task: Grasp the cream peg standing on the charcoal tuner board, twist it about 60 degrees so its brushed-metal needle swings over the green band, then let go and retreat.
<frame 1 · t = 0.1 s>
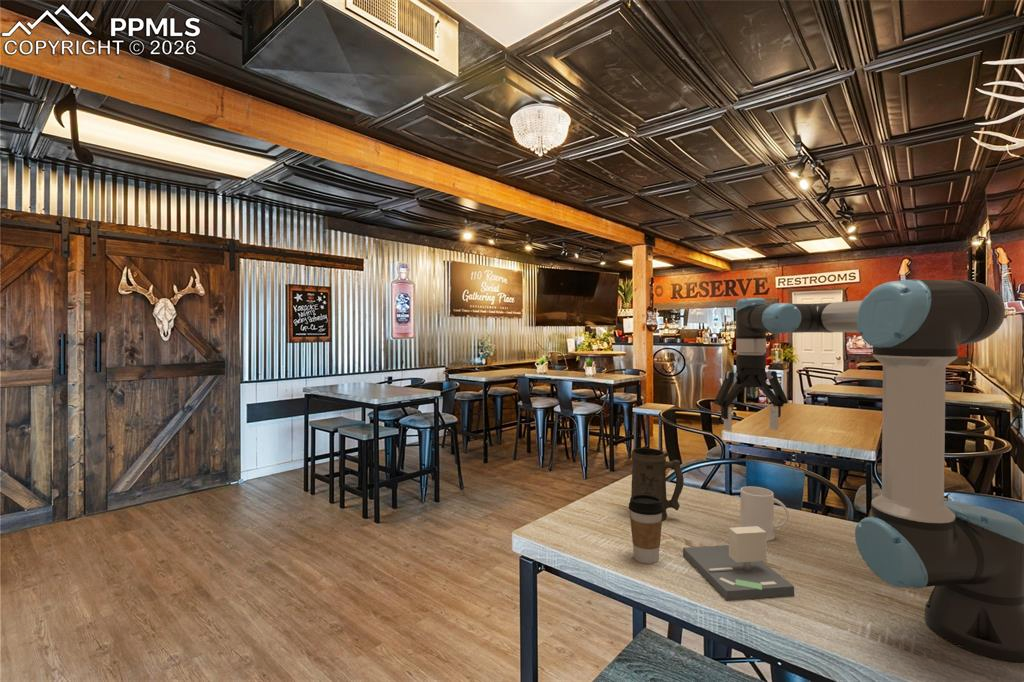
hand: (750, 429, 135), 28 cm above the table, fingers open, 13 cm apart
mug: (763, 536, 131), on the table
coffee cup: (646, 558, 119), on the table
beer stein: (656, 517, 145), on the table
tuner board: (734, 574, 111), on the table
peg: (735, 550, 109), point 6 cm above the table, hinge at 0.0°
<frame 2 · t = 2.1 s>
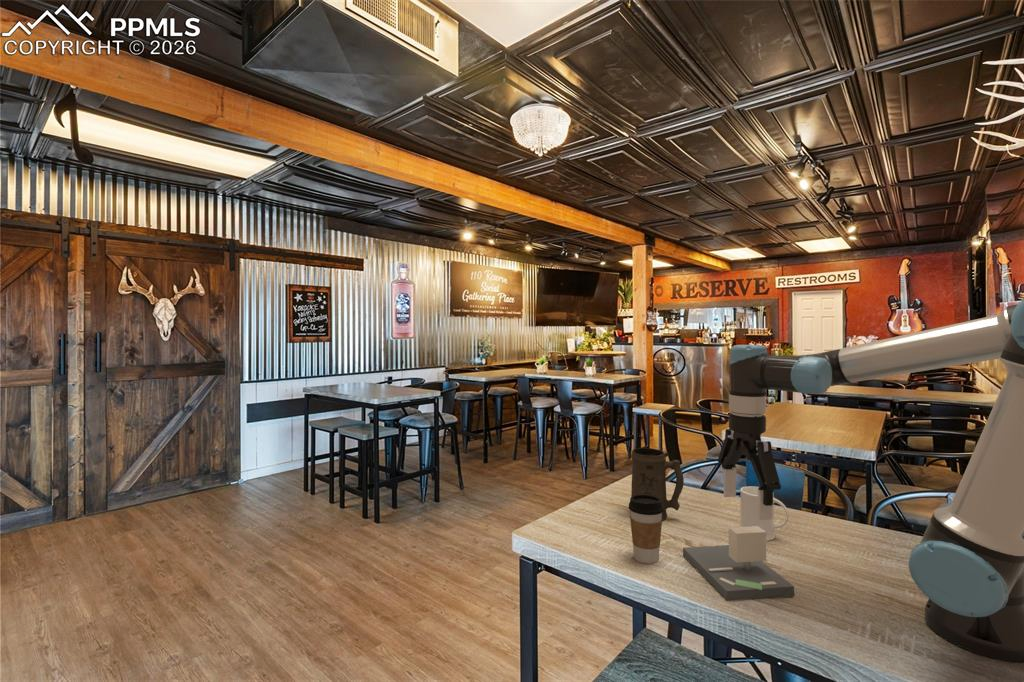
hand: (746, 507, 109), 16 cm above the table, fingers open, 13 cm apart
nothing on the table moved.
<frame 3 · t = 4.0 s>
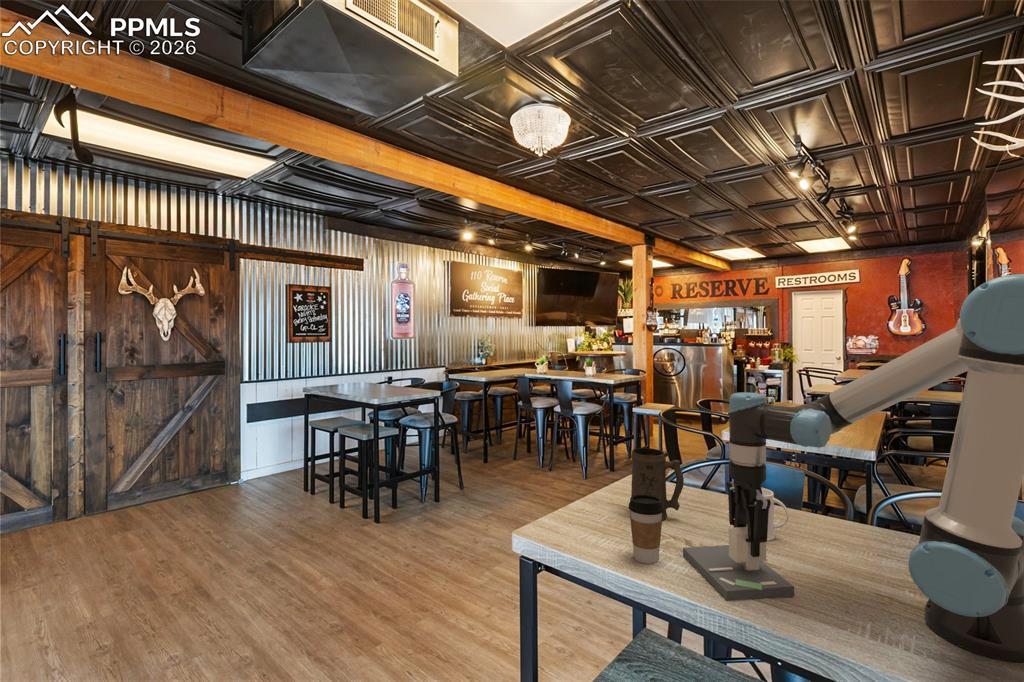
hand: (747, 564, 109), 3 cm above the table, fingers closed on peg, 3 cm apart
peg: (735, 550, 109), point 7 cm above the table, hinge at 0.0°, touching gripper
everything else where it was.
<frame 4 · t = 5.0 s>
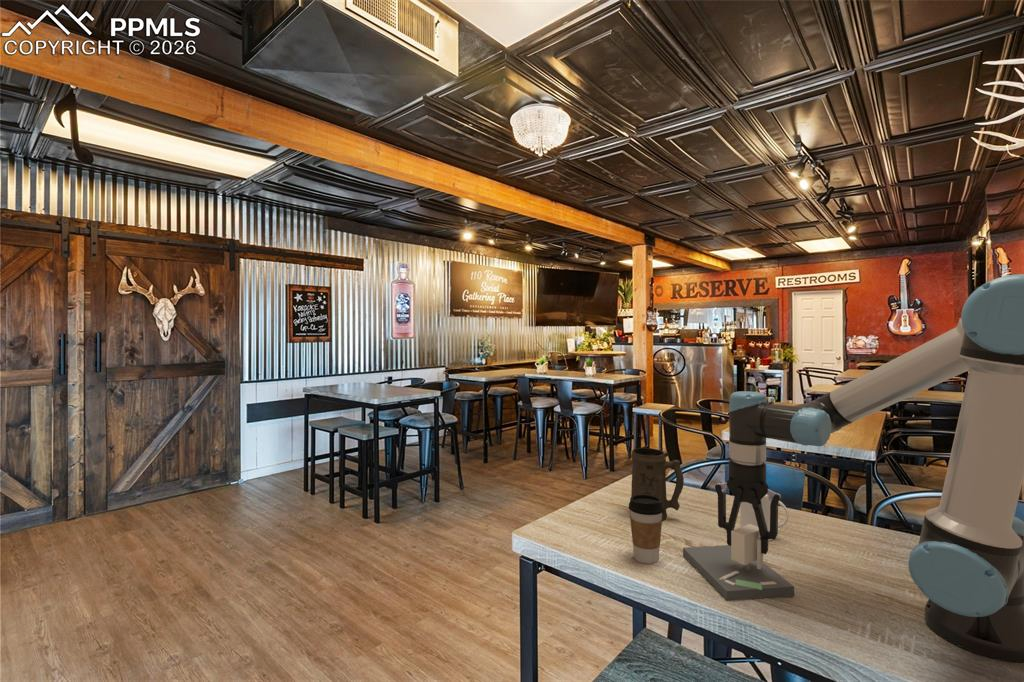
hand: (747, 563, 109), 3 cm above the table, fingers closed on peg, 4 cm apart
peg: (739, 552, 108), point 7 cm above the table, hinge at 25.5°, touching gripper
everything else where it was.
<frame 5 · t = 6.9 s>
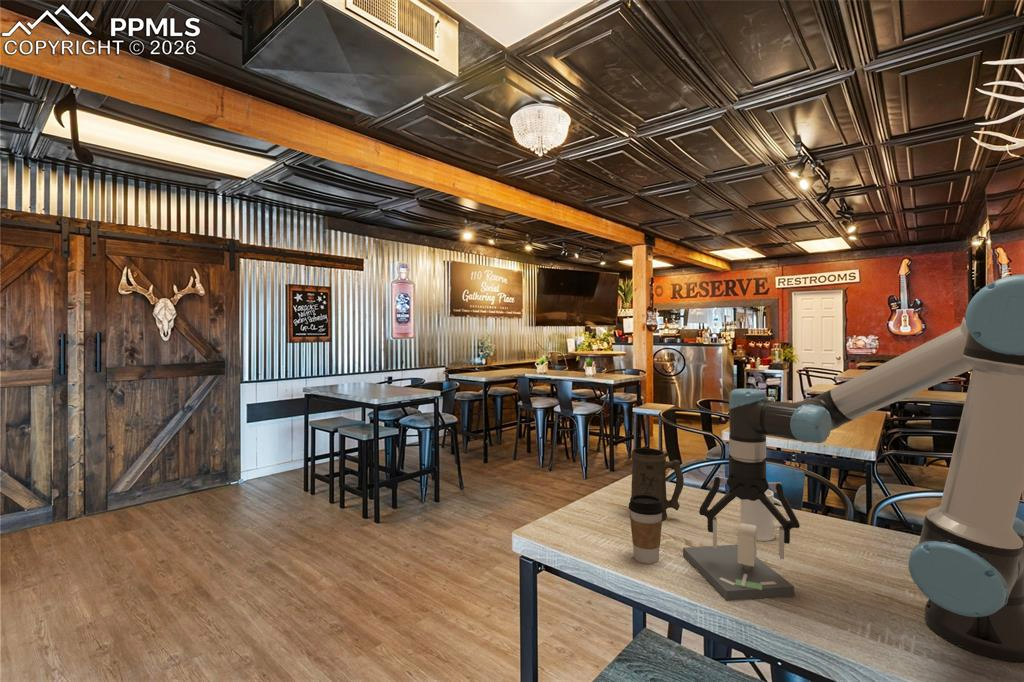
hand: (747, 551, 109), 6 cm above the table, fingers open, 13 cm apart
peg: (746, 554, 107), point 7 cm above the table, hinge at 52.8°
everything else where it was.
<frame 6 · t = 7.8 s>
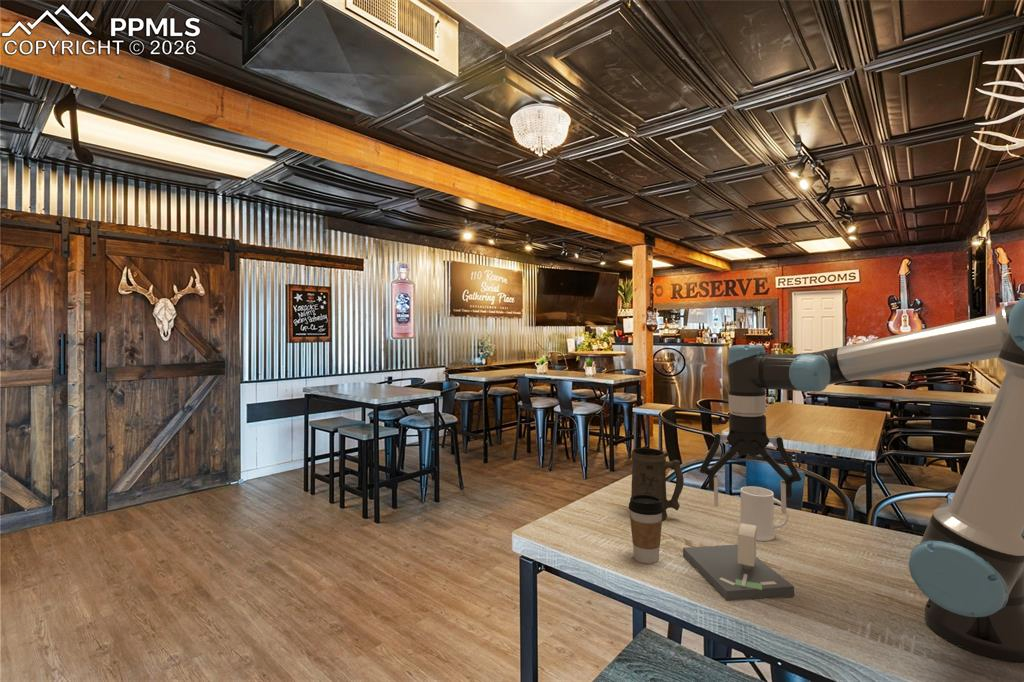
hand: (749, 507, 109), 16 cm above the table, fingers open, 13 cm apart
peg: (746, 554, 107), point 7 cm above the table, hinge at 53.2°
everything else where it was.
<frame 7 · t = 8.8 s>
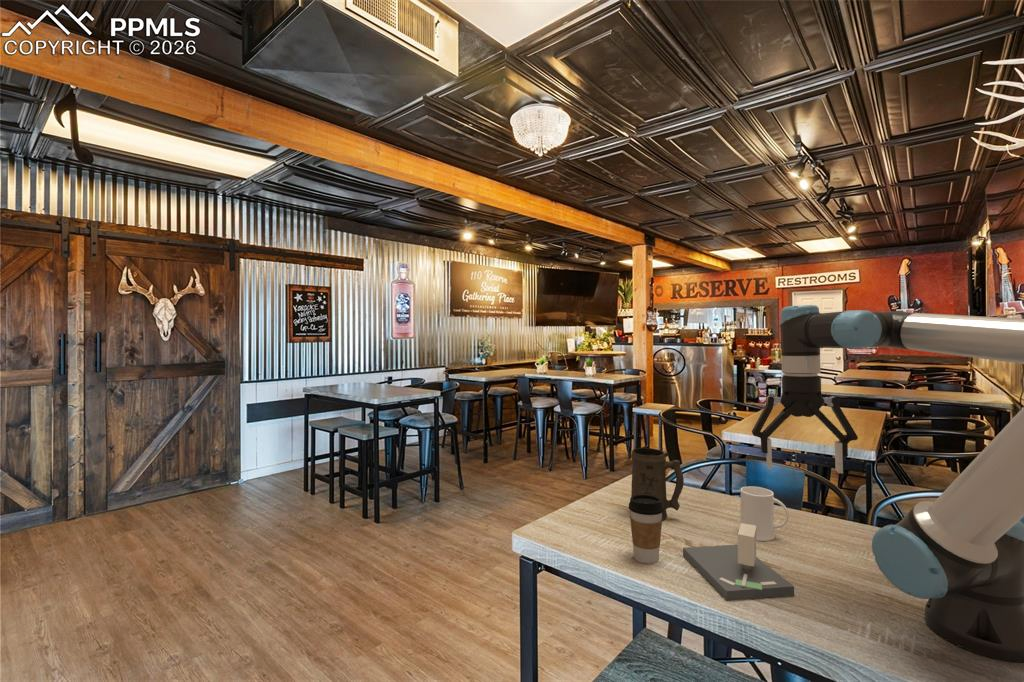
hand: (803, 469, 108), 25 cm above the table, fingers open, 13 cm apart
nothing on the table moved.
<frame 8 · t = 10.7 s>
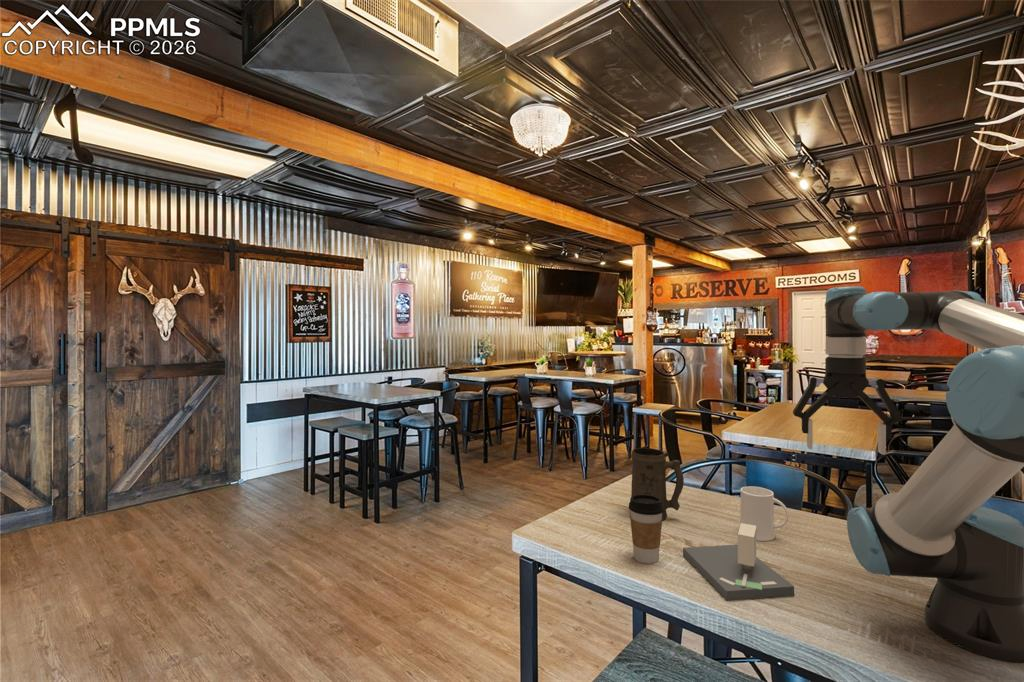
hand: (844, 450, 109), 29 cm above the table, fingers open, 13 cm apart
nothing on the table moved.
at the end: peg at +53° (first picture: +0°); the gripper is holding nothing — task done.
